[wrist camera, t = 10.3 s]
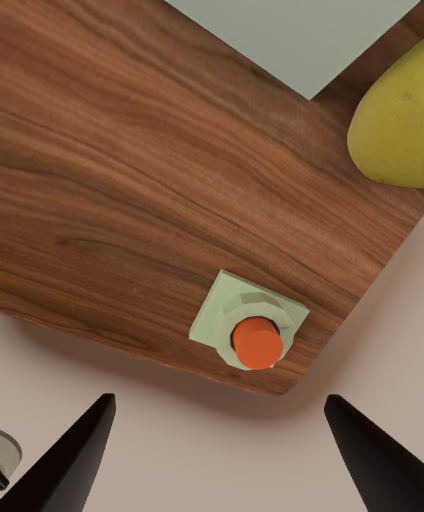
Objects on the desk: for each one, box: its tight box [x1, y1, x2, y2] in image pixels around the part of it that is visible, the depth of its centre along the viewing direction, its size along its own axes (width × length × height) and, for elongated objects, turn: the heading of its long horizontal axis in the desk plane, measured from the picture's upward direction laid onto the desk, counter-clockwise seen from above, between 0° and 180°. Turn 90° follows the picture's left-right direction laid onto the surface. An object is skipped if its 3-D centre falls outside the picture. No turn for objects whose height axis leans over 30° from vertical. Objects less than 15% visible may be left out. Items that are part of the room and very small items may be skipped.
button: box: [233, 317, 283, 369], centre depth 15 cm, size 4×4×2 cm
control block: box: [189, 269, 310, 370], centre depth 17 cm, size 9×7×3 cm
